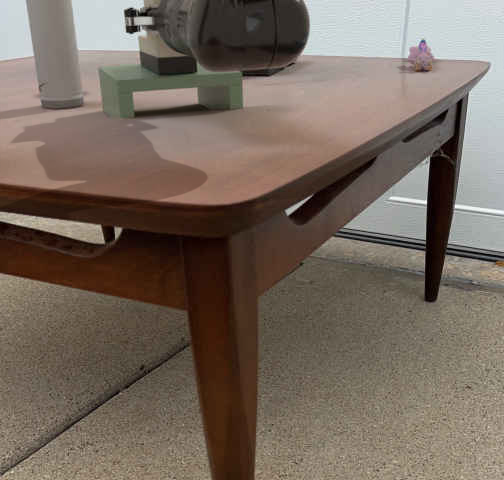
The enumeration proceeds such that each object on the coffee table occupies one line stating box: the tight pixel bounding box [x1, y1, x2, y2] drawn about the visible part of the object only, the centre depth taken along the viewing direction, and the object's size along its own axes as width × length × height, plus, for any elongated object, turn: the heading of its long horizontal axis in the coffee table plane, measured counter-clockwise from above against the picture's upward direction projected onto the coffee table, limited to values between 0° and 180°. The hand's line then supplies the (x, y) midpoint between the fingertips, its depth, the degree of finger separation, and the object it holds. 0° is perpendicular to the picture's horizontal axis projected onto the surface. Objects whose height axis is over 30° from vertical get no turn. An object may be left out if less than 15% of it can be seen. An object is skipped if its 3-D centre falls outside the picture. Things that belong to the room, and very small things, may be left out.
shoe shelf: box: [97, 62, 244, 119], centre depth 93 cm, size 16×16×6 cm
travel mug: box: [25, 0, 85, 110], centre depth 99 cm, size 6×7×20 cm
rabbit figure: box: [405, 38, 440, 73], centre depth 135 cm, size 6×6×15 cm
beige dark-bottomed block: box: [137, 0, 197, 75], centre depth 90 cm, size 5×12×10 cm, turn 19°
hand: (164, 16), depth 89 cm, fingers closed on beige dark-bottomed block, 5 cm apart
